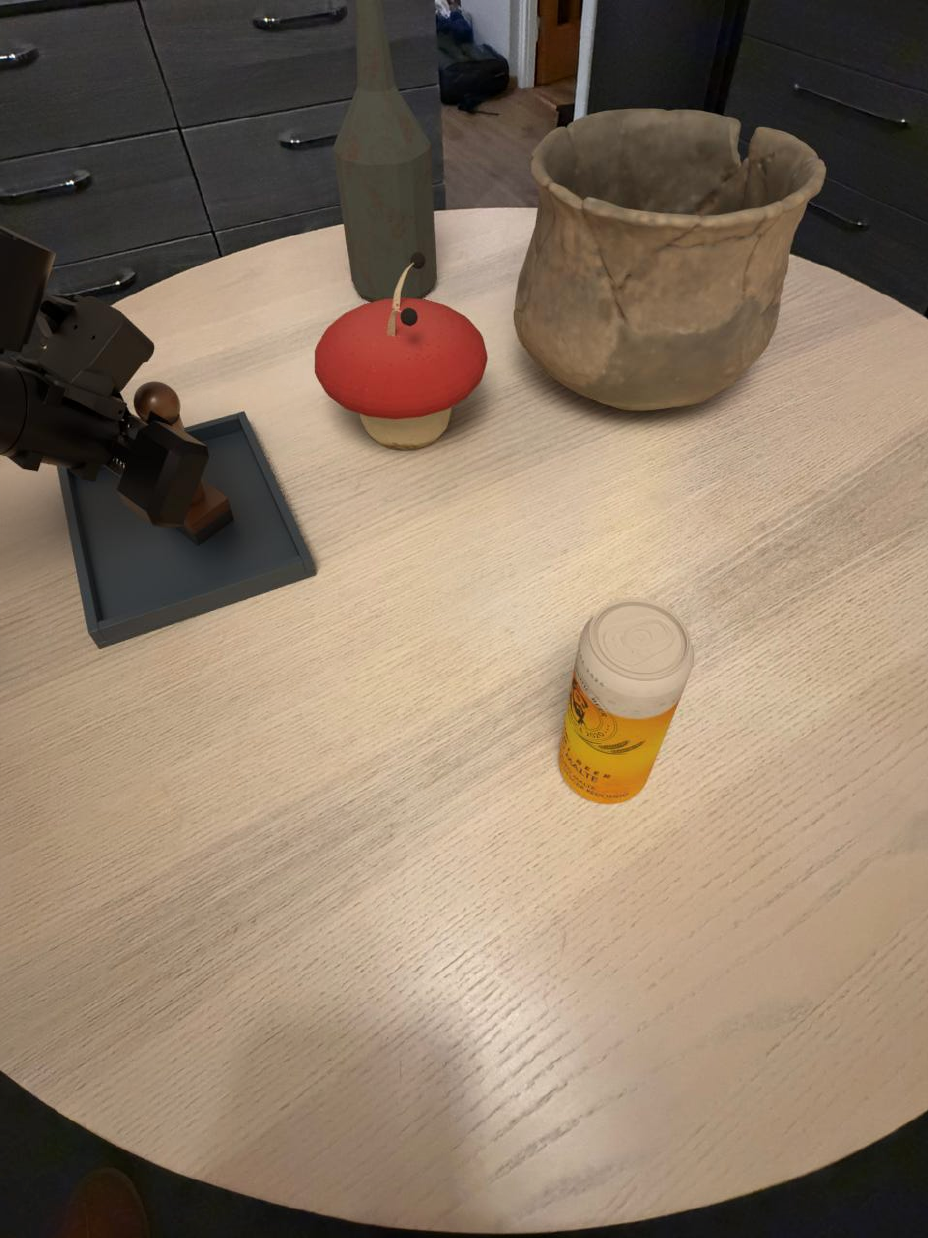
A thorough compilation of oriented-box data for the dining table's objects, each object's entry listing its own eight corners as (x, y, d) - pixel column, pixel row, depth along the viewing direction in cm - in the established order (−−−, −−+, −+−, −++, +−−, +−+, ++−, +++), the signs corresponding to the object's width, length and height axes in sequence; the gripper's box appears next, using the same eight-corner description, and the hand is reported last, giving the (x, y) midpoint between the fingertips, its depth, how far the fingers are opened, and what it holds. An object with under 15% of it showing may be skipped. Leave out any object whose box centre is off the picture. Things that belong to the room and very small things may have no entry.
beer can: (542, 746, 52) (561, 612, 40) (618, 716, 53) (658, 577, 41) (584, 823, 48) (619, 701, 36) (665, 788, 50) (723, 660, 38)
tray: (99, 649, 58) (87, 633, 56) (65, 480, 70) (55, 462, 68) (316, 575, 62) (312, 558, 60) (249, 428, 74) (244, 410, 72)
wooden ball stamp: (234, 520, 65) (197, 388, 54) (198, 546, 63) (151, 416, 52) (195, 491, 67) (150, 358, 55) (158, 515, 65) (104, 383, 53)
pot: (721, 316, 85) (781, 98, 68) (781, 448, 71) (876, 213, 54) (504, 322, 85) (510, 105, 68) (519, 456, 71) (532, 223, 54)
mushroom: (485, 481, 69) (487, 332, 57) (315, 479, 69) (282, 331, 57) (488, 380, 78) (489, 235, 66) (339, 379, 79) (314, 234, 67)
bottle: (436, 264, 94) (421, -52, 70) (438, 305, 88) (423, -26, 64) (354, 267, 94) (311, -48, 70) (350, 309, 88) (303, -21, 64)
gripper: (131, 337, 41) (312, 407, 55) (-39, 238, 49) (158, 322, 62) (68, 518, 44) (256, 541, 58) (-85, 398, 51) (114, 444, 65)
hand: (194, 455), depth 61 cm, fingers closed on wooden ball stamp, 2 cm apart
